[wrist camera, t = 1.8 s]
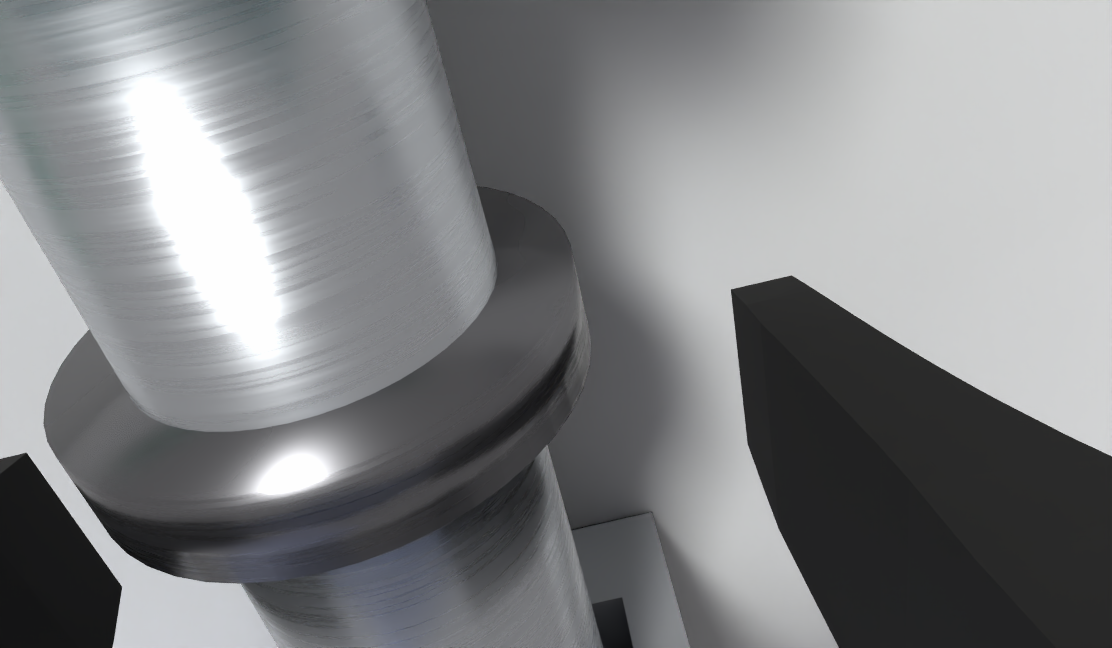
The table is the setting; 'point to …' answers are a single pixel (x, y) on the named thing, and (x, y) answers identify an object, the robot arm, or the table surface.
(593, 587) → the sleeve
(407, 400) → the silver cylinder
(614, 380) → the table surface
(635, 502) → the table surface
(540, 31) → the table surface
